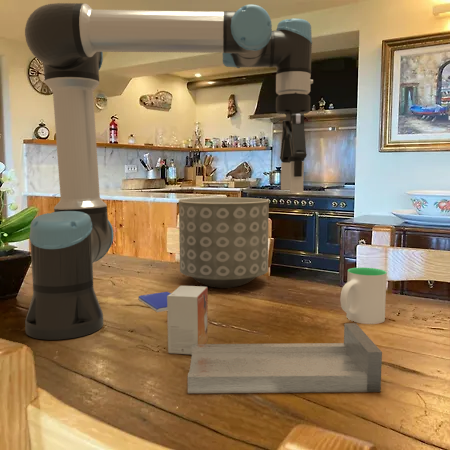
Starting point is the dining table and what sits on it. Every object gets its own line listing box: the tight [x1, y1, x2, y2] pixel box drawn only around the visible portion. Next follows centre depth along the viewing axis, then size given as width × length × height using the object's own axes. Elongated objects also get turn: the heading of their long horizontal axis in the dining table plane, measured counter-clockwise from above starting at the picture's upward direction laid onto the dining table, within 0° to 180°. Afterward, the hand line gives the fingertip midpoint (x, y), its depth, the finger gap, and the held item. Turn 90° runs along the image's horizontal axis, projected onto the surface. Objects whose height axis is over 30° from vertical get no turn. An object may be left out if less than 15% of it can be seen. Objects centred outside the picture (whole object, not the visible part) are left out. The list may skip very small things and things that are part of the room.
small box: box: [166, 285, 209, 356], centre depth 87 cm, size 8×6×10 cm
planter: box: [178, 196, 270, 289], centre depth 135 cm, size 25×25×24 cm
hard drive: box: [138, 291, 172, 313], centre depth 116 cm, size 2×8×12 cm
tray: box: [187, 322, 383, 394], centre depth 75 cm, size 28×13×6 cm, turn 91°
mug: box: [339, 267, 387, 325], centre depth 102 cm, size 12×8×10 cm
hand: (291, 191), depth 107 cm, fingers open, 13 cm apart
